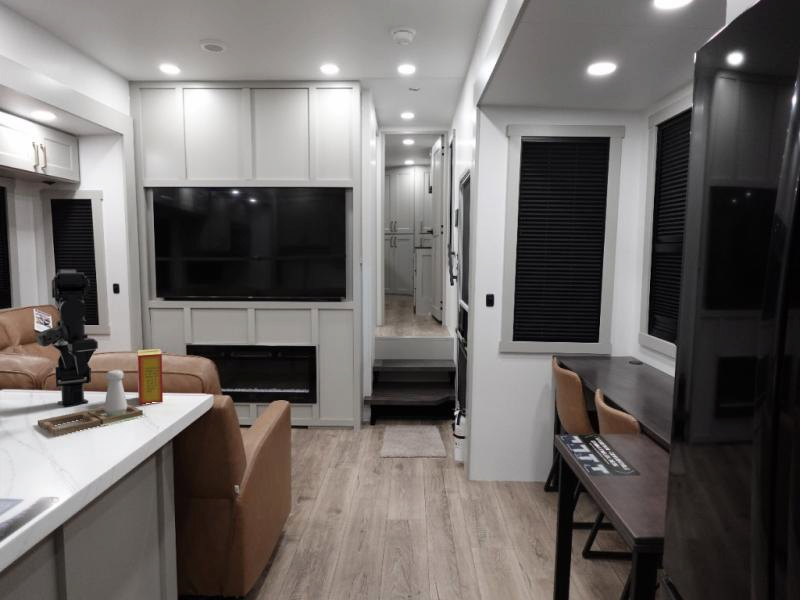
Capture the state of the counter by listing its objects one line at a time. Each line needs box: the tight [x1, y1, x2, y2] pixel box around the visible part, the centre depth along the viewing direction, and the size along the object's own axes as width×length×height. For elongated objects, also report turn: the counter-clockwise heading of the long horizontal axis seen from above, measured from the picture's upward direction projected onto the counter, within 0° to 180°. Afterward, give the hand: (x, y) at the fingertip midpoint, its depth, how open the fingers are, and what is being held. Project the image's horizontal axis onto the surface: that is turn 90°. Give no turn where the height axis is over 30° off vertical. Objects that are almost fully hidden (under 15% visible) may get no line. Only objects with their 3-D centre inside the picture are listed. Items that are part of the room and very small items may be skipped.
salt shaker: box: [103, 369, 128, 417], centre depth 137 cm, size 6×6×13 cm
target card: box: [99, 411, 147, 427], centre depth 137 cm, size 12×12×1 cm
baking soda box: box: [136, 348, 164, 406], centre depth 153 cm, size 10×6×16 cm
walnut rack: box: [37, 403, 144, 438], centre depth 134 cm, size 13×21×2 cm, turn 143°
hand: (74, 371), depth 136 cm, fingers open, 9 cm apart
